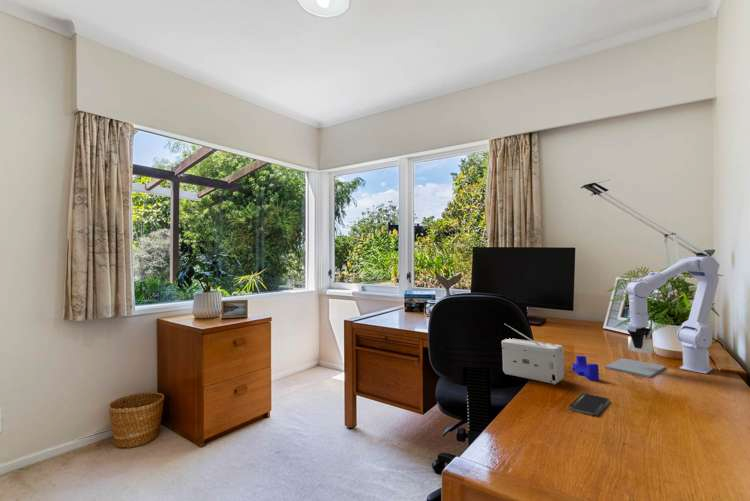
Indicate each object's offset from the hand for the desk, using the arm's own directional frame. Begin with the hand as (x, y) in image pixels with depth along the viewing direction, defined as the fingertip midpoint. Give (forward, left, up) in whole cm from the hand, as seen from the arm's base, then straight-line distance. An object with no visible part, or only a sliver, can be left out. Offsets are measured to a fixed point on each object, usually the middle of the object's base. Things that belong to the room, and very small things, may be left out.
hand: (639, 347), depth 140 cm
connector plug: (0, 0, -2) cm, 2 cm away
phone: (+49, +3, -10) cm, 50 cm away
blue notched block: (+22, -11, -9) cm, 26 cm away
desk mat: (-1, -2, -9) cm, 9 cm away
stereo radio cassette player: (+39, -22, -9) cm, 46 cm away
